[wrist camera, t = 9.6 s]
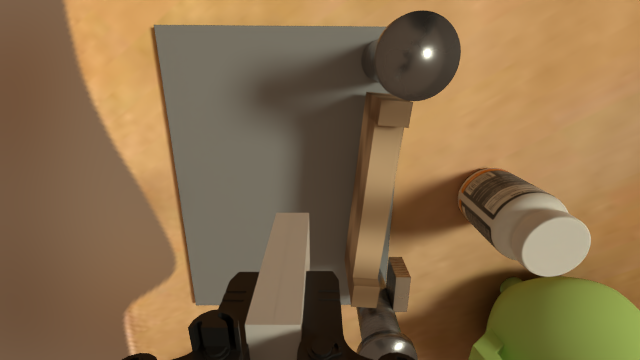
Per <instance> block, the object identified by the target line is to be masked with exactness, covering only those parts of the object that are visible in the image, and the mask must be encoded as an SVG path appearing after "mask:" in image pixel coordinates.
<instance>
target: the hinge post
mask: <svg viewBox="0 0 640 360" xmlns="http://www.w3.org/2000/svg"><path fill="white" fill-rule="evenodd" d="M460 53H461V50H460V41H459V38H458V35H457V33H456V30H455V29H454V27H453V26H452V24H451V23H450V22H449V21H448V20H447V19H445V18H444V17H443V16H441V15H439V14H437V13H434V12H430V11H414V12H410V13H408V14H405V15H403V16H401V17H399V18H398V19H396V20H395V21H393V22H392V23H391V24H389V25H388V26H387V27H386V29H385V30H384V31H383V32H382V34H381V35H380V37H379V39H377V40H375V41H373V42H371V43H370V44H369V45H368V46H367V47H366V48H365V50H364V52H363V54H362V58H361V64H362V68H363V71H364V72H365V74H366V75H367V76H368V77H369V78H371V79H373V80H376V81H379V83H380V84H381V85H382V87H383V88H384V89H385V90H386V91H387V92H389V93H390V94H391V95H393V96H395V97H398V98H400V99H403V100H408V101H420V100H425V99H428V98H431V97H433V96H435V95H436V94H438V93H439V92H441V91H442V90H443V89H444V88H445V87H446V86H447V85H448V84H449V83H450V81H451V80H452V78H453V77H454V75H455V73H456V71H457V68H458V65H459V61H460Z"/></svg>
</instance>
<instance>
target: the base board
mask: <svg viewBox="0 0 640 360" xmlns="http://www.w3.org/2000/svg"><path fill="white" fill-rule="evenodd" d="M154 29H155V36H156V42H157V49H158V56H159V62H160V69H161V76H162V82H163V89H164V96H165V102H166V109H167V116H168V122H169V129H170V136H171V142H172V149H173V156H174V162H175V169H176V175H177V182H178V189H179V195H180V202H181V209H182V215H183V222H184V229H185V235H186V242H187V249H188V255H189V262H190V269H191V275H192V282H193V289H194V295H195V302H196V305H220V304H221V302H222V299H223V296H224V294H225V292H226V289H227V286H228V284H229V281H230V280H231V279H232V278H233V277H234V276H235V275H236V274H237V273H238V272H260V269H261V265H262V262H263V258H264V255H265V251H266V248H267V244H268V240H269V237H270V233H271V230H272V226H273V223H274V219H275V216H276V213H309V240H310V269H309V271H333V272H334V274H335V275H336V277H337V278H338V280H339V289H340V302H341V305H351V302H350V295H349V288H348V281H347V275H346V268H345V261H344V258H345V251H346V243H347V235H348V228H349V220H350V212H351V205H352V197H353V189H354V182H355V174H356V166H357V159H358V151H359V143H360V136H361V128H362V120H363V113H364V105H365V97H366V92H375V93H386V94H390V93H389V92H387V91H386V90H385V89H384V88H383V87H382V85H381V84H380V83H379V81H376V80H373V79H371V78H369V77H368V76H367V75H366V74H365V72H364V71H363V68H362V64H361V58H362V54H363V52H364V50H365V48H366V47H367V46H368V45H369V44H370V43H371V42H373V41H375V40H377V39H379V37H380V35H381V34H382V32H383V31H384V30H385V29H386V27H352V26H223V25H154ZM394 183H395V182H394ZM393 194H394V188H393ZM393 194H392V200H391V205H390V211H389V217H388V223H387V228H386V234H385V240H384V246H383V251H382V257H381V263H380V268H379V269H380V270H381V272H382V275H383V278H384V281H385V284H386V274H387V262H388V251H389V240H390V228H391V217H392V205H393Z"/></svg>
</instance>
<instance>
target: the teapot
mask: <svg viewBox="0 0 640 360" xmlns="http://www.w3.org/2000/svg"><path fill="white" fill-rule="evenodd" d="M500 292H501V294H500V295H499V297H498V298H497V299H496V301H495V303H494V305H493V307H492V310H491V312H490V315H489V318H488V322H487V326H486V331H485V334H484V335H483V336H482V337H481V338H480V339H479V340H478V341H477V342H476V343H475V344H474V345H473V346H472V349H471V352H470V356H469V359H468V360H640V311H639V310H638V309H637V308H636V307H635V306H634V305H633V304H632V303H631V302H630V301H629V300H628V299H627V298H625V297H624V296H623V295H622V294H620V293H619V292H618V291H616V290H614V289H612V288H610V287H608V286H606V285H603V284H601V283H598V282H594V281H590V280H585V279H579V278H572V277H542V278H536V279H531V280H526V281H522V280H521V279H520V278H517V277H511V278H508V279H506V280H505V281H503V283H502V284H501V286H500Z"/></svg>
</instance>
